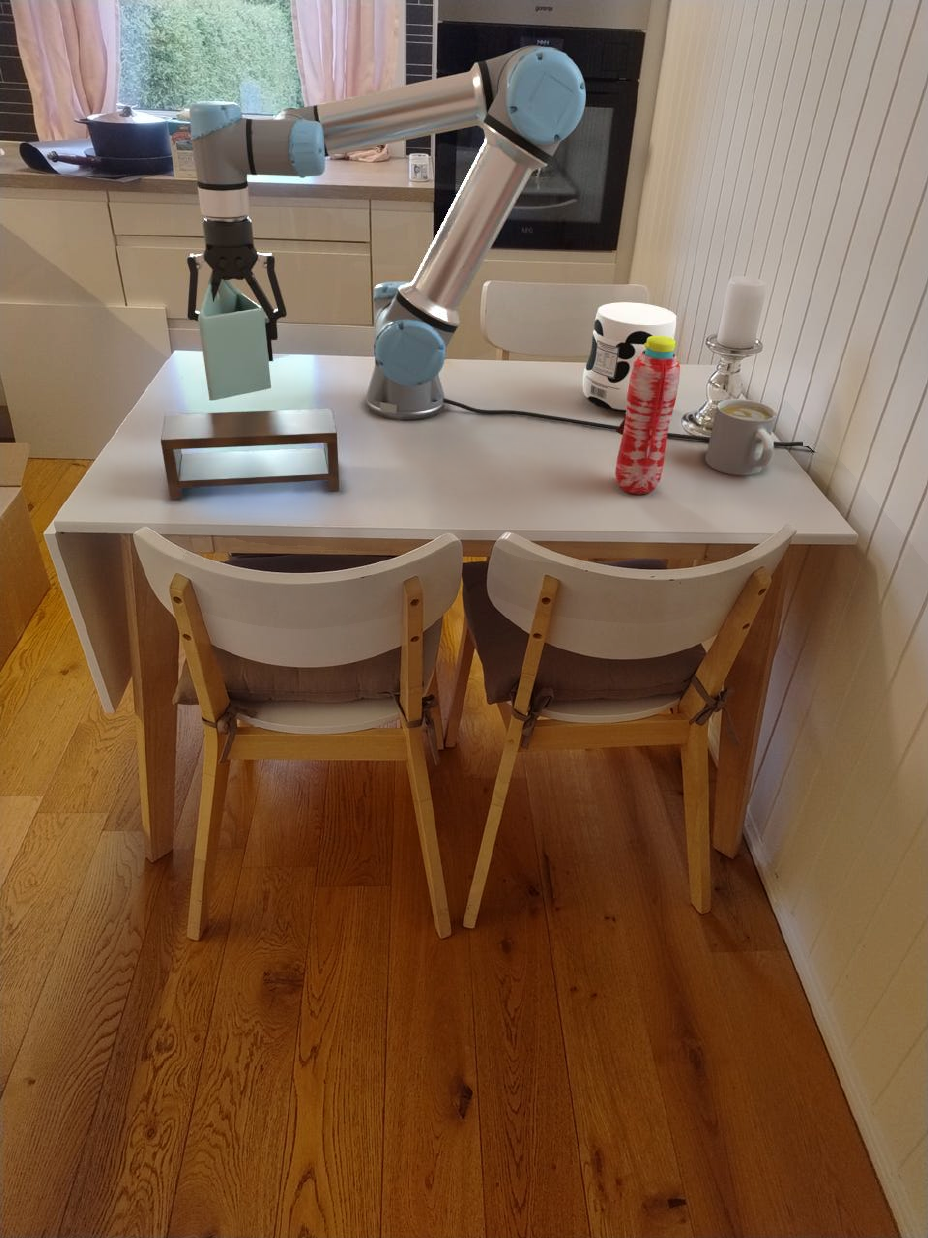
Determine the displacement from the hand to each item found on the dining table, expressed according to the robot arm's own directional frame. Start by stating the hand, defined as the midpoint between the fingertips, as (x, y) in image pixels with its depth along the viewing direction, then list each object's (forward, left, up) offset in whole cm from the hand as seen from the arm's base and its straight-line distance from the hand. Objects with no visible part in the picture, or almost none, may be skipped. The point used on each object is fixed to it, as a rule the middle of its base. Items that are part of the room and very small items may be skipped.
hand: (243, 359), depth 149 cm
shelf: (-1, +20, -13) cm, 24 cm away
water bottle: (-63, +28, -13) cm, 70 cm away
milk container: (-74, -7, -13) cm, 75 cm away
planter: (-1, 0, -5) cm, 5 cm away
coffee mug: (-84, +24, -13) cm, 88 cm away
